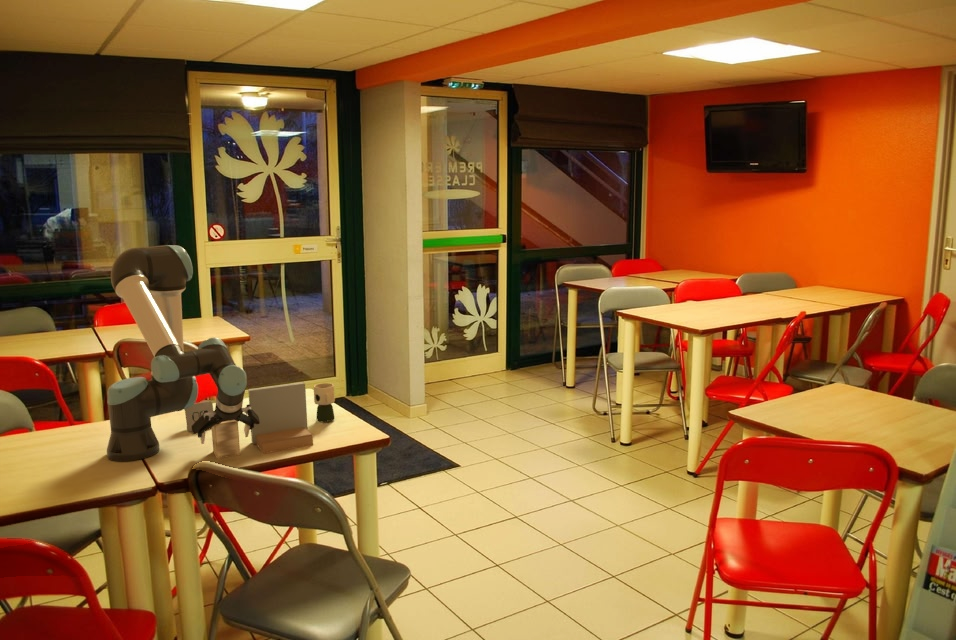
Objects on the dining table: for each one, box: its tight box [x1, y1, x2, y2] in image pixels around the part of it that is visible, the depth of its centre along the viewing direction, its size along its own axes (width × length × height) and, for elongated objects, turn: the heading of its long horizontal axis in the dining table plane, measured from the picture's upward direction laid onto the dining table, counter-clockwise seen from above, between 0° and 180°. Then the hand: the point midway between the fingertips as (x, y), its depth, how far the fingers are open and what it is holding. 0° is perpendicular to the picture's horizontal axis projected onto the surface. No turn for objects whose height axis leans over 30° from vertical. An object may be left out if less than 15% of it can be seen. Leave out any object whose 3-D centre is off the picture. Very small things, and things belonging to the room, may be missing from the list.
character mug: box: [313, 382, 336, 423], centre depth 275 cm, size 11×7×13 cm, turn 25°
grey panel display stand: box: [248, 381, 314, 454], centre depth 251 cm, size 18×12×18 cm, turn 117°
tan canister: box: [210, 420, 241, 459], centre depth 244 cm, size 7×7×12 cm
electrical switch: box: [183, 400, 215, 433], centre depth 269 cm, size 9×5×9 cm, turn 121°
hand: (224, 436), depth 246 cm, fingers open, 13 cm apart
